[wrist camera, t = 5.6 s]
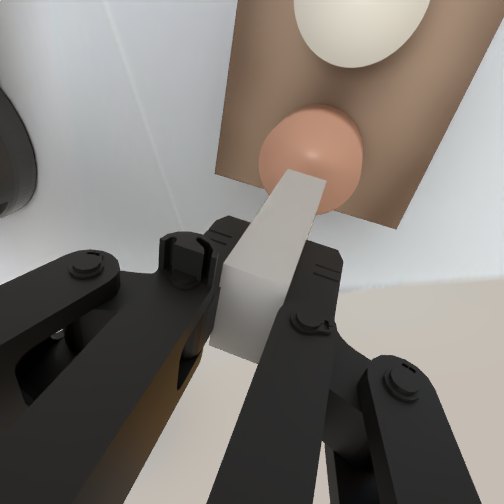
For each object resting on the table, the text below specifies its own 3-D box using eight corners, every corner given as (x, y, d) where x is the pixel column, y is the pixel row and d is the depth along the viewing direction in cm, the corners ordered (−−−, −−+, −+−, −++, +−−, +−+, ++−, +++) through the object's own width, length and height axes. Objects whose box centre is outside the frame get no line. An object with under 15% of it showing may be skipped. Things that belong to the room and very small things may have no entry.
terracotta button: (262, 182, 21) (250, 198, 19) (282, 93, 18) (270, 101, 16) (344, 206, 20) (340, 227, 18) (378, 118, 17) (379, 130, 15)
